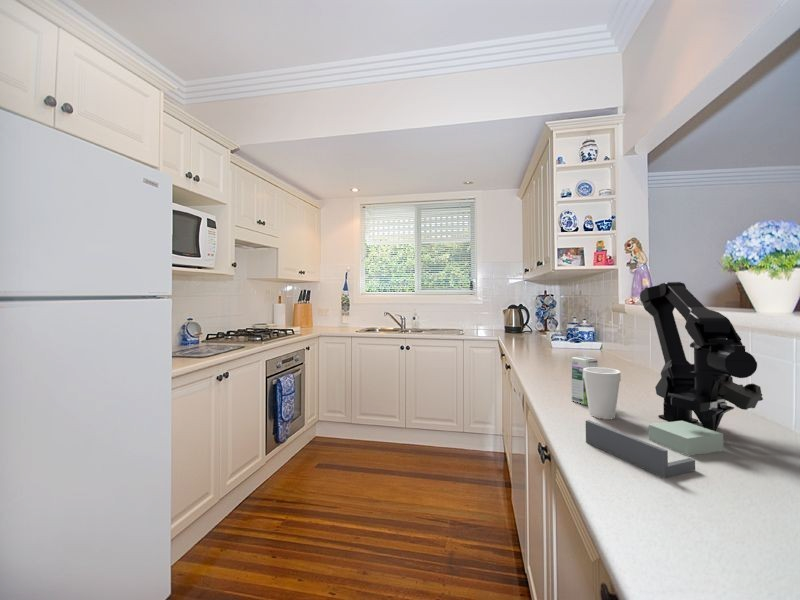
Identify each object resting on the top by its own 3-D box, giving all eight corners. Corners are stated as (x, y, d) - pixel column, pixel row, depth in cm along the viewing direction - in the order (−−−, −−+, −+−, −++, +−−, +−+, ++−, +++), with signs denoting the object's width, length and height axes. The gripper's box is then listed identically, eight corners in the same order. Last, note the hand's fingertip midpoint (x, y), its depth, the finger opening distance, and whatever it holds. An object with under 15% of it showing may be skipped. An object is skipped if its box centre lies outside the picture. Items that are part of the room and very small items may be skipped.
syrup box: (570, 401, 116) (570, 357, 116) (583, 398, 119) (582, 355, 119) (586, 405, 111) (585, 359, 111) (598, 403, 114) (598, 358, 114)
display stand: (613, 437, 86) (612, 416, 86) (695, 470, 69) (694, 444, 69) (585, 441, 83) (585, 420, 83) (664, 477, 66) (663, 451, 66)
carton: (682, 436, 86) (681, 420, 86) (723, 452, 78) (723, 433, 78) (649, 441, 84) (648, 424, 84) (687, 457, 75) (687, 438, 75)
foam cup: (621, 423, 95) (620, 375, 95) (582, 417, 100) (581, 371, 100) (621, 413, 103) (620, 369, 103) (585, 408, 108) (584, 366, 108)
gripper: (724, 379, 73) (726, 455, 73) (779, 372, 79) (780, 442, 79) (668, 369, 84) (669, 435, 84) (720, 364, 90) (721, 425, 90)
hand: (710, 435), depth 84 cm, fingers closed
